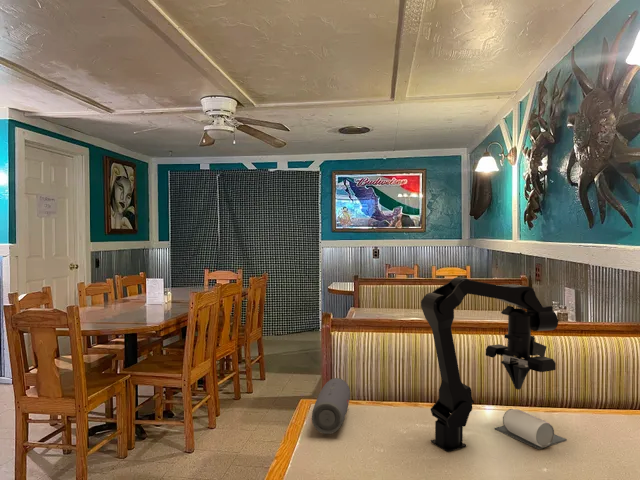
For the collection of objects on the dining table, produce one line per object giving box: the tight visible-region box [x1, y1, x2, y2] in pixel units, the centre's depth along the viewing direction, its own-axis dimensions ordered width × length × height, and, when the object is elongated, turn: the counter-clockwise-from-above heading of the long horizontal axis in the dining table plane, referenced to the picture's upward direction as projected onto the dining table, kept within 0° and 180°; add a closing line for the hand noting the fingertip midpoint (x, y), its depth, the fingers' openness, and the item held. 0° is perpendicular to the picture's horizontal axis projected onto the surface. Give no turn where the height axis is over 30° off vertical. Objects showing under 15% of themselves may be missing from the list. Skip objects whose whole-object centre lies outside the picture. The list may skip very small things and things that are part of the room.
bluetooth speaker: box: [311, 377, 351, 435], centre depth 137 cm, size 23×9×10 cm, turn 171°
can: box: [502, 408, 555, 448], centre depth 125 cm, size 6×6×12 cm
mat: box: [494, 424, 567, 450], centre depth 129 cm, size 11×14×1 cm
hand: (518, 389), depth 128 cm, fingers closed
